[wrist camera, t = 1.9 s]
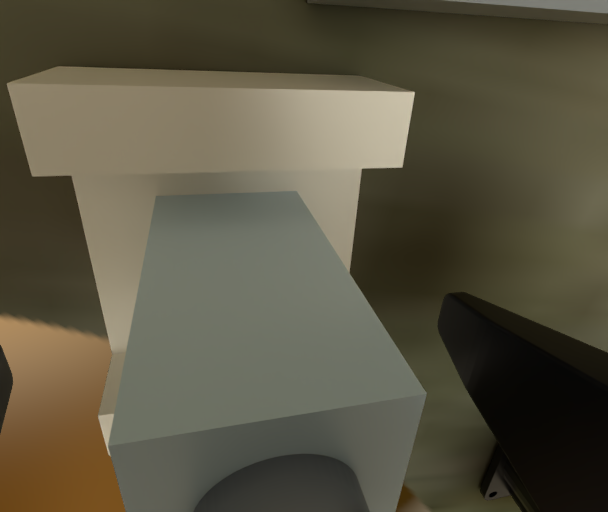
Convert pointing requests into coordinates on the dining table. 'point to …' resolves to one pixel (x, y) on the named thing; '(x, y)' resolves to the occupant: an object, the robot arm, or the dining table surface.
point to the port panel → (496, 8)
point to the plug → (257, 369)
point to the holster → (199, 156)
